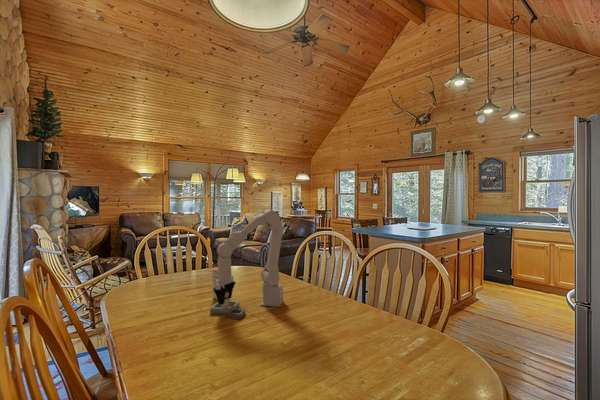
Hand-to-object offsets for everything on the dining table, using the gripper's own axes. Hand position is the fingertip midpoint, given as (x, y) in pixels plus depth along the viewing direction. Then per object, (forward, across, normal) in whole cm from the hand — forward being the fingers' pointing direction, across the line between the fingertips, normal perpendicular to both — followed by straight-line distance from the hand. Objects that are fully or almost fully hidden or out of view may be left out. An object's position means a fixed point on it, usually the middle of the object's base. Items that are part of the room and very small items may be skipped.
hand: (225, 300), depth 137 cm
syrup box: (+4, -16, -10) cm, 19 cm away
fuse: (+3, 0, 0) cm, 3 cm away
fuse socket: (+4, +5, +8) cm, 10 cm away
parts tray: (+4, 0, 0) cm, 4 cm away
